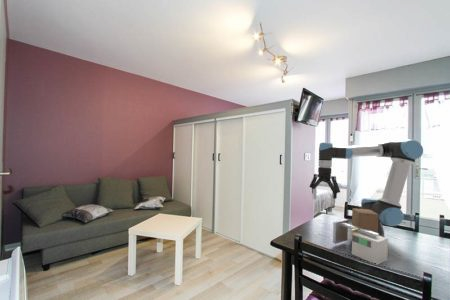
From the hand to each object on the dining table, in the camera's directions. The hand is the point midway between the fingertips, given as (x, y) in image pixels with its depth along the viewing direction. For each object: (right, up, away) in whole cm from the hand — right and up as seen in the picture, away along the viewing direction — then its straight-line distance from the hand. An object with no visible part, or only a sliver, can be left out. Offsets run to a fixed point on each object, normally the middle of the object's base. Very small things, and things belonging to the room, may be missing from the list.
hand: (323, 201), depth 131 cm
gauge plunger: (+9, -21, -18) cm, 29 cm away
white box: (+12, -23, -23) cm, 35 cm away
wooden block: (+19, -24, -9) cm, 32 cm away
